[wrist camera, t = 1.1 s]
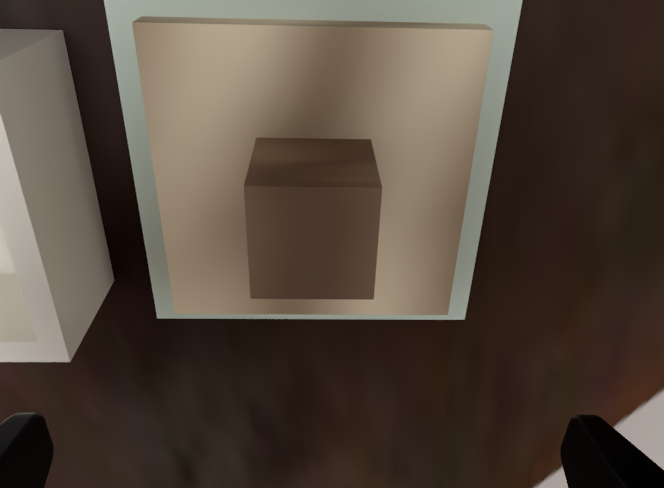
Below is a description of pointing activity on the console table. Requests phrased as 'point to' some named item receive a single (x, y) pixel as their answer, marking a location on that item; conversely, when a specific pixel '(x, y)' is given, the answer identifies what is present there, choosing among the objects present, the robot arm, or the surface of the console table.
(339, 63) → the lid
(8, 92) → the beige boxy piece
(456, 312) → the mat
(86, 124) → the console table surface
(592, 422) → the robot arm
